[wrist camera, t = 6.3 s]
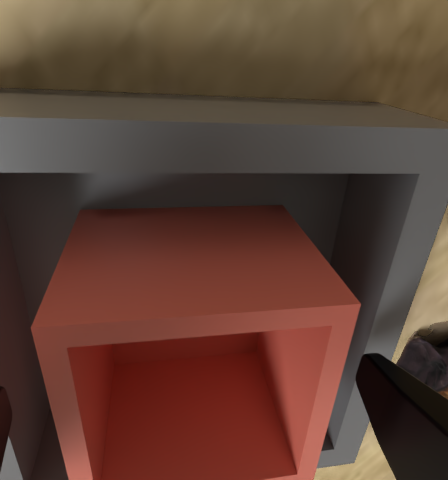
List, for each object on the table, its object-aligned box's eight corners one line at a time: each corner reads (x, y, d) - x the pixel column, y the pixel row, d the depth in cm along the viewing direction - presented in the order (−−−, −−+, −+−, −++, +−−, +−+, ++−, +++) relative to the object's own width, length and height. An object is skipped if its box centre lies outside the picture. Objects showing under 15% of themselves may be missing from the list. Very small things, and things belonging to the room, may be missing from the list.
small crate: (263, 349, 14) (312, 482, 10) (102, 363, 13) (78, 519, 9) (282, 204, 12) (361, 303, 7) (80, 209, 11) (30, 328, 6)
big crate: (313, 377, 17) (354, 462, 14) (33, 405, 15) (-2, 514, 12) (377, 102, 12) (474, 129, 8) (-51, 85, 10) (-167, 112, 6)
